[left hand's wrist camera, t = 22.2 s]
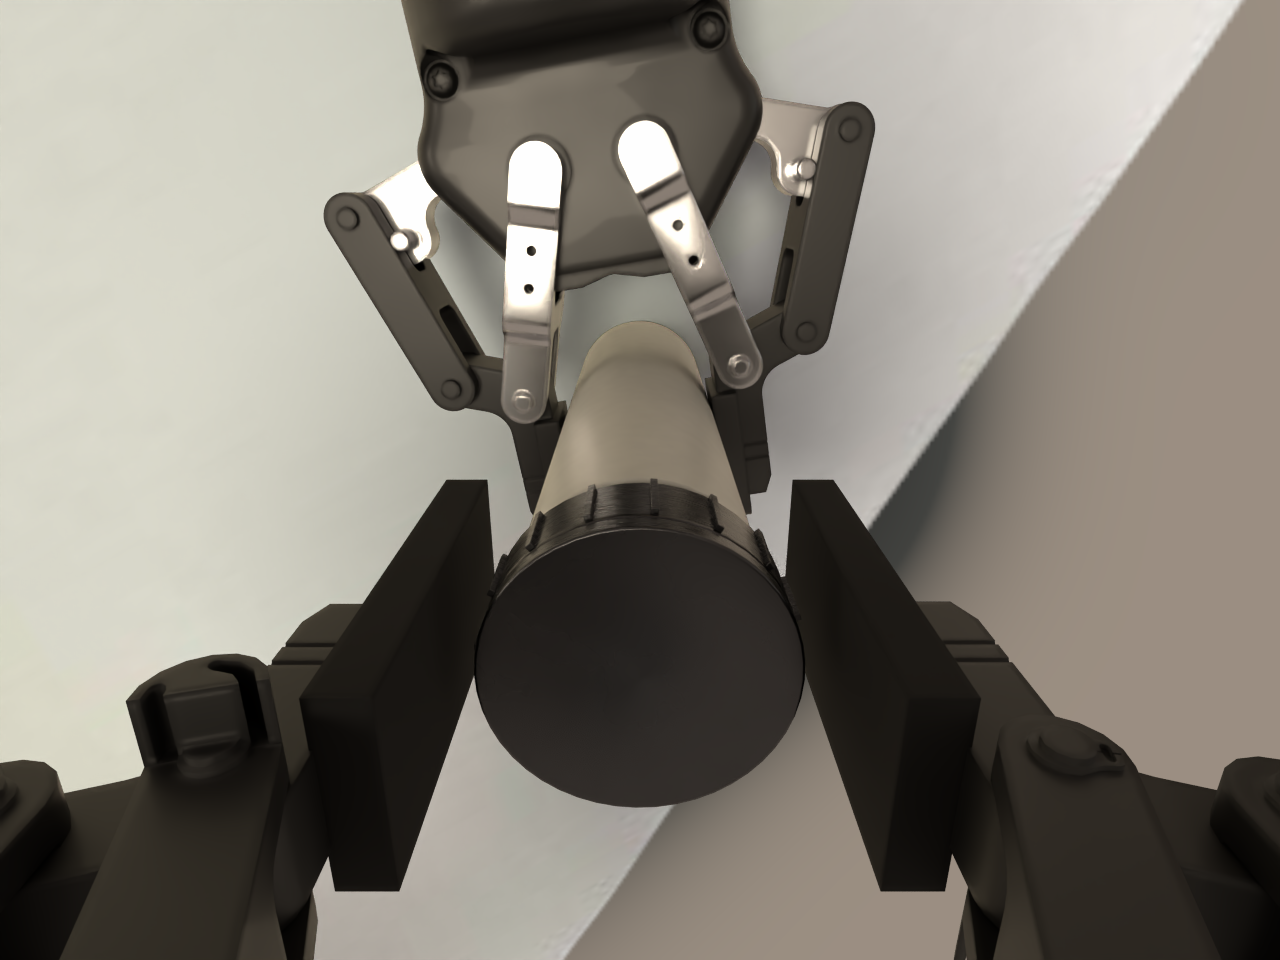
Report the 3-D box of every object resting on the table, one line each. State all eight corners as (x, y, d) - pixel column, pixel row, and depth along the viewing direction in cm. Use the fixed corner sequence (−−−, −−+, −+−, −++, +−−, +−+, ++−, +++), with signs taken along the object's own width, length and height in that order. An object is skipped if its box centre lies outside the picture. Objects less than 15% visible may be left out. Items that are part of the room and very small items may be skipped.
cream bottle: (620, 454, 28) (593, 794, 12) (559, 358, 27) (443, 598, 11) (718, 399, 28) (827, 684, 12) (661, 298, 26) (694, 461, 10)
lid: (434, 562, 12) (403, 620, 10) (703, 423, 11) (715, 462, 9) (586, 775, 13) (579, 853, 12) (833, 665, 12) (862, 734, 11)
